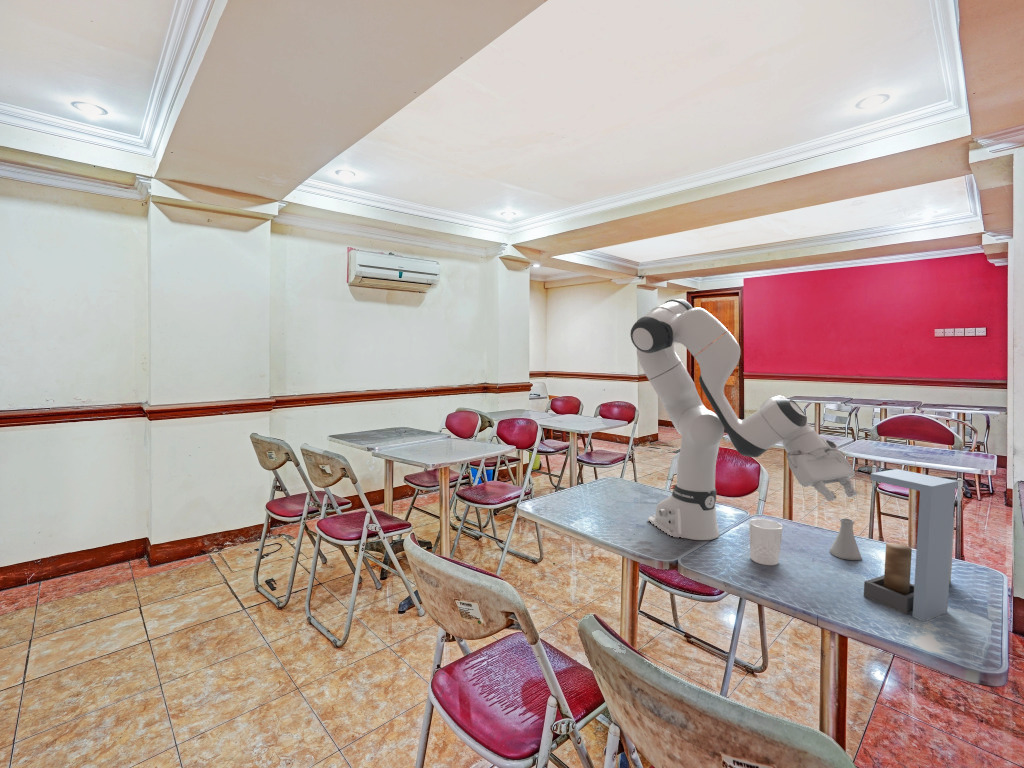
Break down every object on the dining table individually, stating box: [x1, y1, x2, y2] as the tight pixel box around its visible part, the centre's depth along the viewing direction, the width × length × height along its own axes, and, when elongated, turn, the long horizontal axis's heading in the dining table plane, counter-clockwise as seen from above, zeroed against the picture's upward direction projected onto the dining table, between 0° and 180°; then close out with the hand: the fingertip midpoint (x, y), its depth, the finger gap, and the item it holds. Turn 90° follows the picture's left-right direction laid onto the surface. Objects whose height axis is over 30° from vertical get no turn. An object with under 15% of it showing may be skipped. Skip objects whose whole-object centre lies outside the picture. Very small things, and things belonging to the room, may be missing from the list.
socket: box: [863, 574, 915, 615], centre depth 109 cm, size 8×8×4 cm
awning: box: [870, 468, 959, 622], centre depth 107 cm, size 12×10×28 cm
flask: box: [829, 517, 863, 561], centre depth 133 cm, size 7×7×10 cm
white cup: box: [748, 518, 784, 566], centre depth 130 cm, size 8×8×10 cm
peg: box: [883, 542, 913, 595], centre depth 109 cm, size 4×4×12 cm
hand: (843, 497), depth 121 cm, fingers open, 8 cm apart
